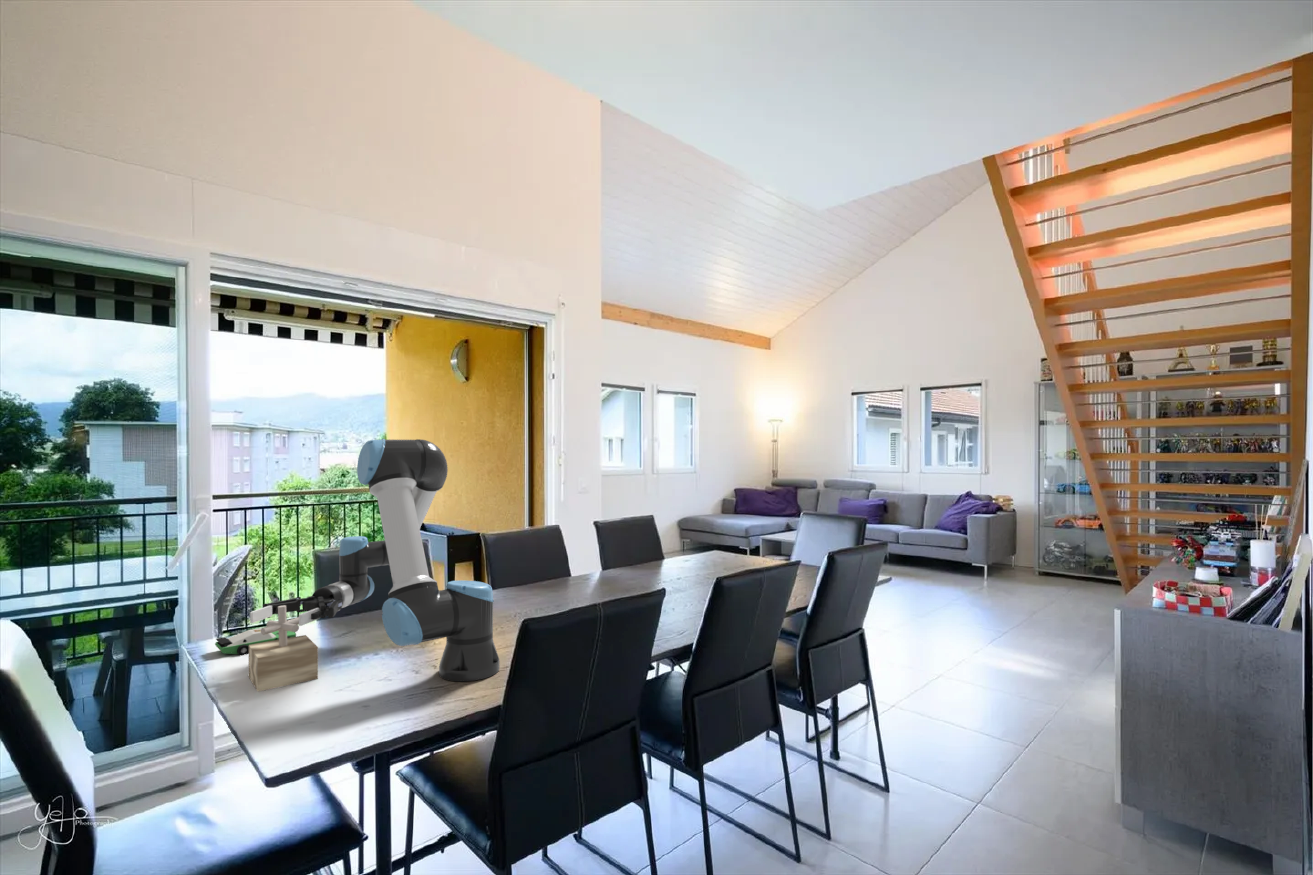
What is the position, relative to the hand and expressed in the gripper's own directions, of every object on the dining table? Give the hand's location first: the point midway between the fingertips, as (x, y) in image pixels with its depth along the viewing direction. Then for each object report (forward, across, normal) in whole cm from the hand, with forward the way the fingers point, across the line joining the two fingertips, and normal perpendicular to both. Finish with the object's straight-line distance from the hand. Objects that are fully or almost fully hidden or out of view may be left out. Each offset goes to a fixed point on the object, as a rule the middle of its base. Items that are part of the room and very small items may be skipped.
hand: (275, 618), depth 160 cm
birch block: (-3, 0, -16) cm, 16 cm away
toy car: (-23, +25, -16) cm, 37 cm away
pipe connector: (-3, 0, -8) cm, 8 cm away
